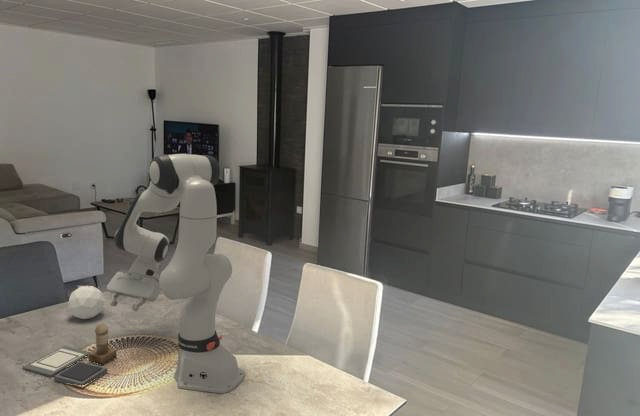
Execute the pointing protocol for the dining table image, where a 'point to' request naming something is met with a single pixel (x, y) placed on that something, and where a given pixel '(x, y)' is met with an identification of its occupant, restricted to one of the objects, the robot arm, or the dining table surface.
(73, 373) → the ink pad
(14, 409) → the dining table surface
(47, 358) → the document board
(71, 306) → the geodesic sphere
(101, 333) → the hand stamp
